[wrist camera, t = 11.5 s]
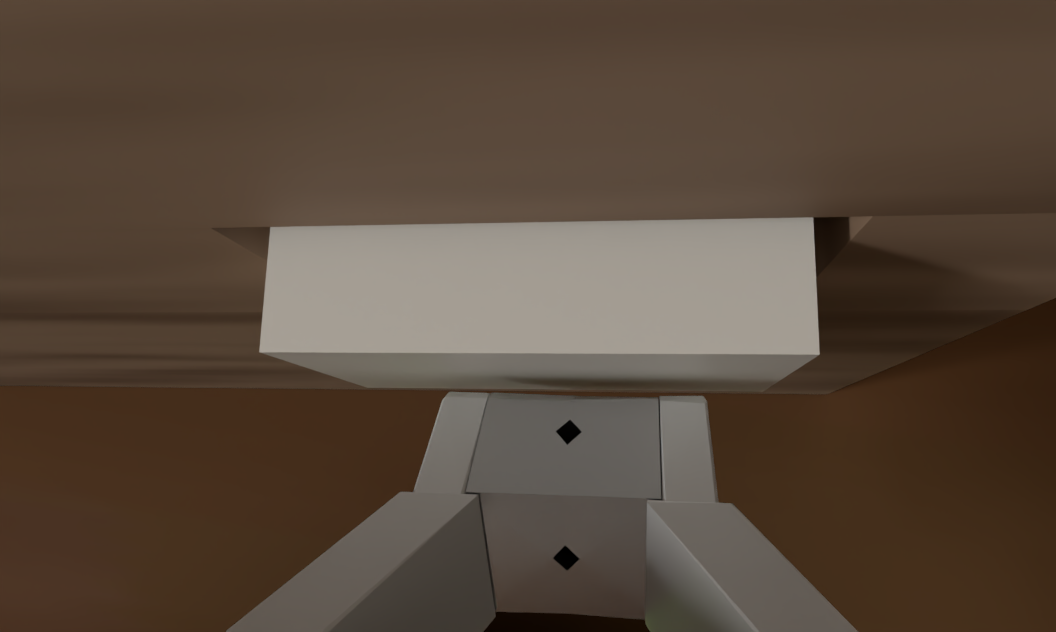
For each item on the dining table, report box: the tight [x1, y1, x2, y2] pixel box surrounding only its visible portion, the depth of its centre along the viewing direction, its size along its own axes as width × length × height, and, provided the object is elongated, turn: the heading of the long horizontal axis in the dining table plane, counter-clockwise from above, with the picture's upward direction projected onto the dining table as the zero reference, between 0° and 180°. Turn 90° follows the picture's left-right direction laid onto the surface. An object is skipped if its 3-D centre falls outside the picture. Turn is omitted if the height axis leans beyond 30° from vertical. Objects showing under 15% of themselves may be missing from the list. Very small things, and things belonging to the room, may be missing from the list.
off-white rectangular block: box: [259, 217, 820, 392], centre depth 10 cm, size 6×5×3 cm
